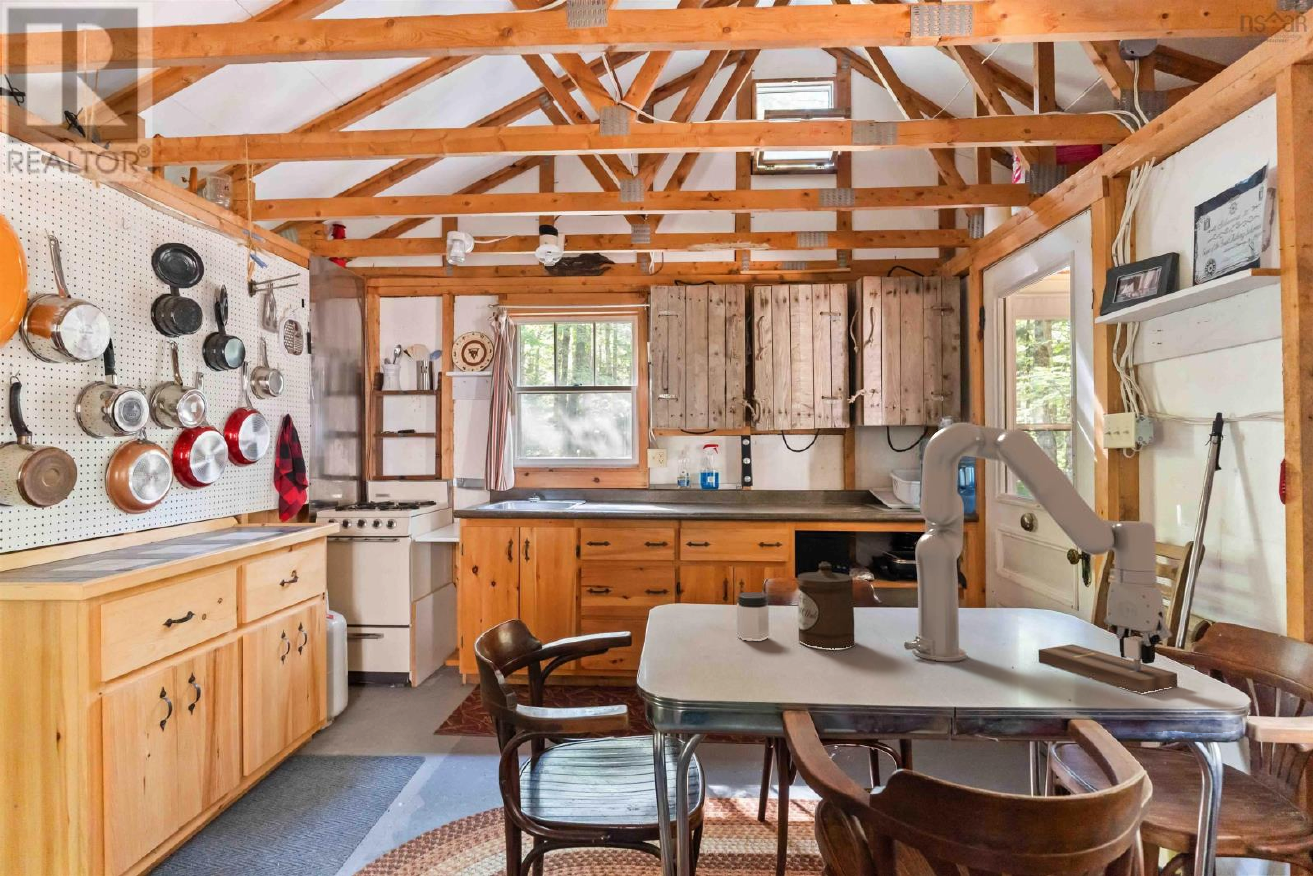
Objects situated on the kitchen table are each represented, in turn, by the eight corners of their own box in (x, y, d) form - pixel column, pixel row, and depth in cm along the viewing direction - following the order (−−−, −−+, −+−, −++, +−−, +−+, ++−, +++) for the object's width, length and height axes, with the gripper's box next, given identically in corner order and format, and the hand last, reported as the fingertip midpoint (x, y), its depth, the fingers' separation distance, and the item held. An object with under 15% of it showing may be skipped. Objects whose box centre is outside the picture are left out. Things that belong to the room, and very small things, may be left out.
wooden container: (794, 635, 187) (793, 558, 187) (846, 635, 186) (845, 558, 187) (804, 651, 172) (803, 566, 173) (861, 651, 172) (860, 566, 172)
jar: (772, 641, 181) (772, 597, 181) (744, 643, 179) (744, 599, 179) (760, 632, 190) (760, 591, 190) (733, 634, 188) (733, 592, 188)
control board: (1141, 694, 139) (1141, 680, 139) (1038, 662, 162) (1038, 649, 162) (1177, 687, 144) (1177, 673, 144) (1072, 656, 166) (1072, 644, 166)
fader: (1138, 672, 144) (1137, 641, 144) (1124, 668, 147) (1123, 638, 147) (1150, 669, 145) (1149, 639, 145) (1136, 665, 148) (1135, 636, 148)
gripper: (1087, 572, 153) (1088, 651, 152) (1165, 585, 137) (1167, 673, 137) (1108, 570, 156) (1110, 647, 155) (1187, 582, 140) (1190, 669, 140)
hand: (1137, 659), depth 146 cm, fingers open, 3 cm apart
